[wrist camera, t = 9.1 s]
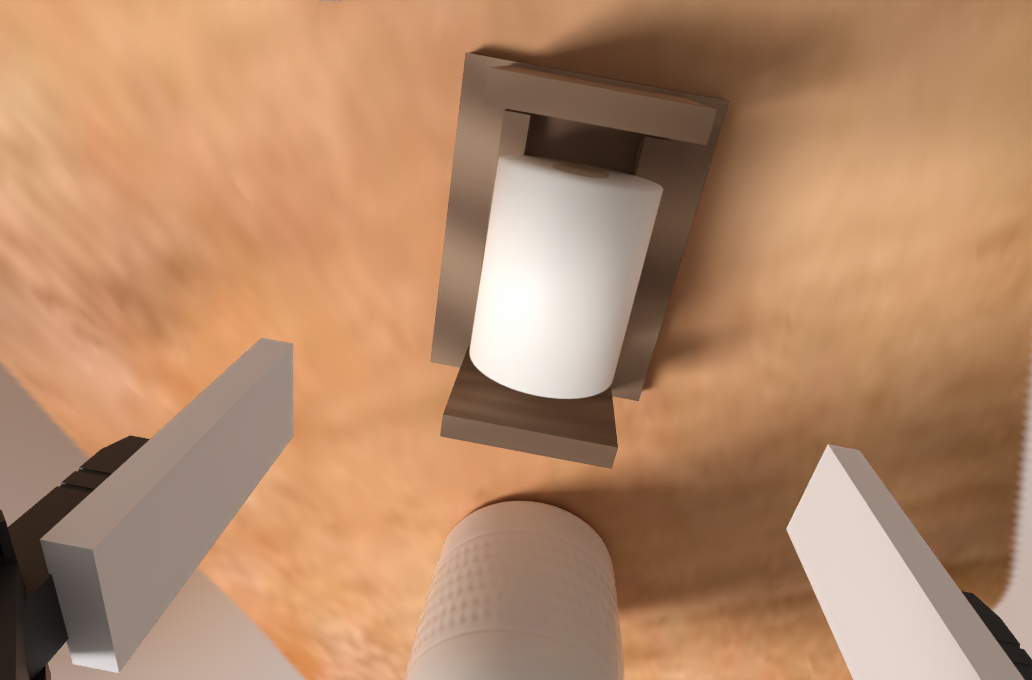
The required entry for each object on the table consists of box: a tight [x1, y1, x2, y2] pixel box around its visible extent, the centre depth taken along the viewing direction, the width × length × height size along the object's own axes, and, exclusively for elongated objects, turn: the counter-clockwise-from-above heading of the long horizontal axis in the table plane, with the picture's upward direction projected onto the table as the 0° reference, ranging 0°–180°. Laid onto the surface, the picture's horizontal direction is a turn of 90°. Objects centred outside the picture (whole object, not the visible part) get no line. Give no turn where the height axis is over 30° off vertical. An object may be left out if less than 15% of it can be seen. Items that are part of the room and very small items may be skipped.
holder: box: [430, 53, 729, 469], centre depth 27 cm, size 16×12×8 cm
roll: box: [470, 155, 663, 399], centre depth 27 cm, size 9×7×7 cm
